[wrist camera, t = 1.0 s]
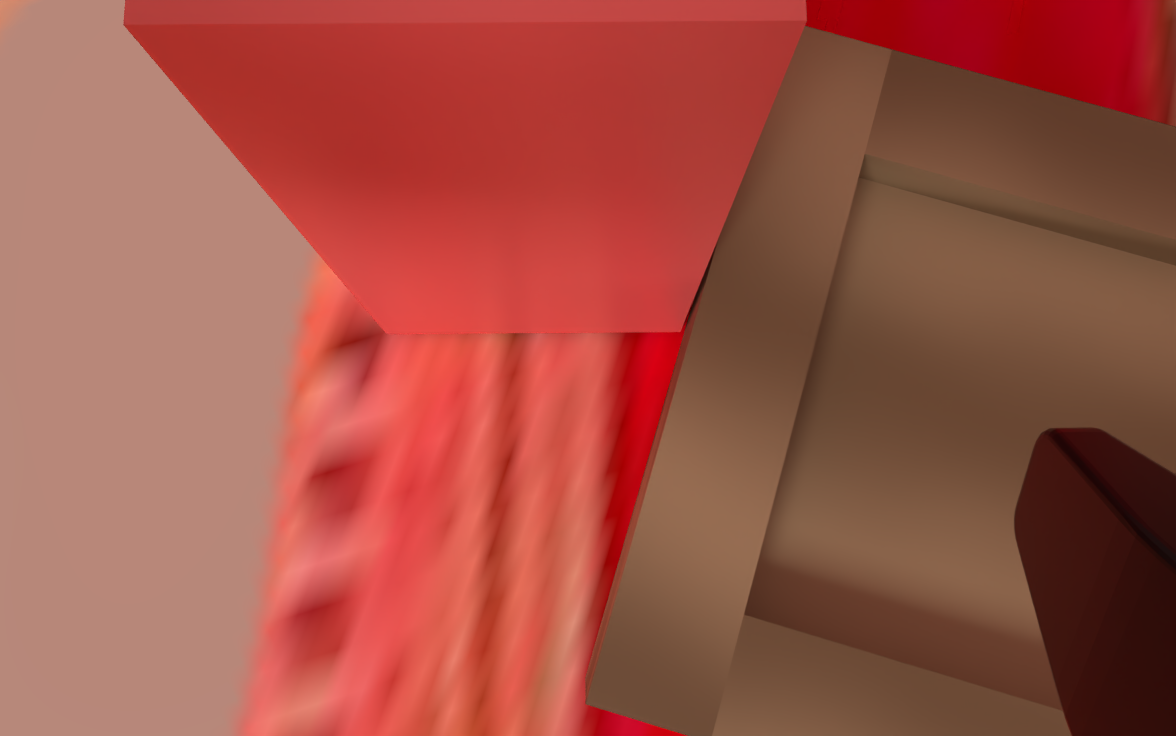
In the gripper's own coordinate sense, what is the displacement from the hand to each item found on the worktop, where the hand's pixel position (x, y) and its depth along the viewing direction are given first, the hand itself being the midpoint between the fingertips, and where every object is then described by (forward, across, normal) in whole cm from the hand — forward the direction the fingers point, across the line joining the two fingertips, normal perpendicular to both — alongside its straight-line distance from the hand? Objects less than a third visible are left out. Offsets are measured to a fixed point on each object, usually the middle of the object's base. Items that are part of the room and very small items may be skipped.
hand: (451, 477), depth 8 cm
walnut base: (+10, -8, +8) cm, 15 cm away
